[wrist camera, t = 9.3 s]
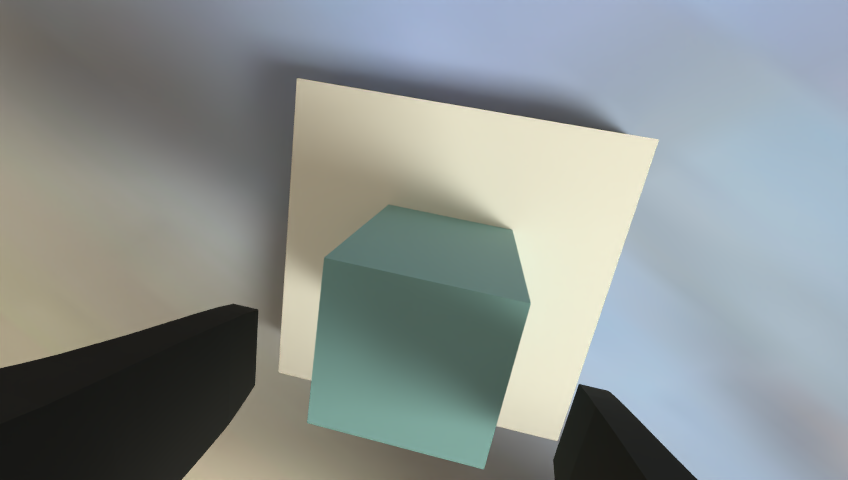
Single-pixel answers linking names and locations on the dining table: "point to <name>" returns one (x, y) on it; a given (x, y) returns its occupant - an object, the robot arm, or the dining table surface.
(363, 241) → the teal block
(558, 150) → the plinth
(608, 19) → the dining table surface
